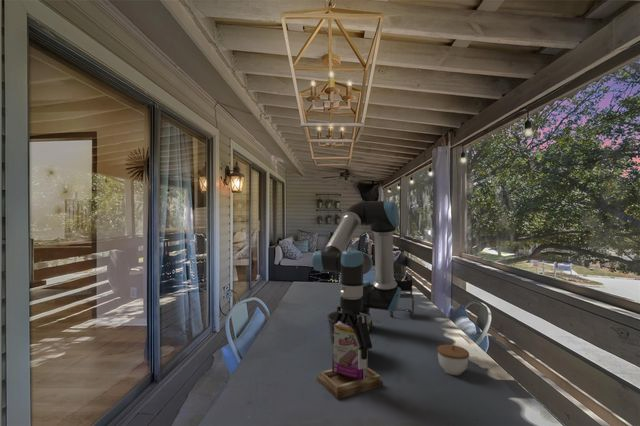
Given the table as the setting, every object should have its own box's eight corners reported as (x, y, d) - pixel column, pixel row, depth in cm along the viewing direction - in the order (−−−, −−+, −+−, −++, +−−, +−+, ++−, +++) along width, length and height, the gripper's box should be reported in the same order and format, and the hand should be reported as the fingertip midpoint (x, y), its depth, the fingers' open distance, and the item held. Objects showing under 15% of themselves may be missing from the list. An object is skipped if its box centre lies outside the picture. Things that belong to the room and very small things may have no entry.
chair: (411, 310, 196) (411, 274, 196) (414, 319, 179) (414, 279, 179) (389, 309, 198) (390, 273, 198) (390, 317, 181) (390, 278, 181)
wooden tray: (359, 369, 119) (359, 360, 119) (382, 385, 108) (383, 376, 108) (316, 380, 110) (316, 371, 110) (337, 399, 99) (337, 389, 99)
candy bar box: (331, 373, 109) (332, 324, 109) (337, 367, 114) (338, 320, 114) (363, 381, 105) (364, 330, 105) (367, 374, 109) (369, 325, 109)
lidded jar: (433, 364, 125) (433, 339, 125) (461, 365, 125) (461, 340, 125) (442, 377, 114) (443, 351, 114) (473, 379, 114) (474, 352, 114)
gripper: (323, 289, 118) (322, 348, 118) (364, 307, 97) (363, 379, 96) (340, 288, 122) (339, 344, 122) (384, 304, 100) (382, 373, 100)
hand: (349, 359), depth 109 cm, fingers open, 13 cm apart
